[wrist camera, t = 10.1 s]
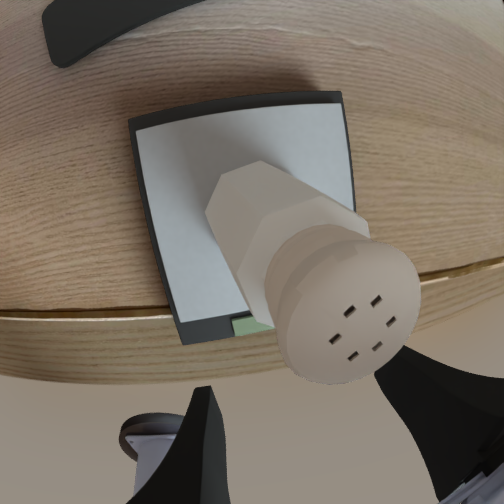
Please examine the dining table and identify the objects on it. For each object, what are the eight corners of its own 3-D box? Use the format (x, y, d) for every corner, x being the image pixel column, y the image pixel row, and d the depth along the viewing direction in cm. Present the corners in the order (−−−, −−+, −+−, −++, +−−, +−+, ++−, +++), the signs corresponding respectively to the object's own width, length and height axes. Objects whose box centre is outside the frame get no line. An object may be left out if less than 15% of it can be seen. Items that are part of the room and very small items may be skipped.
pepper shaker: (325, 214, 15) (487, 305, 5) (253, 280, 16) (320, 454, 5) (260, 138, 13) (394, 83, 3) (182, 211, 14) (117, 338, 4)
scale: (344, 292, 20) (362, 311, 18) (184, 326, 19) (182, 351, 17) (325, 98, 16) (346, 88, 13) (138, 124, 15) (124, 117, 12)
